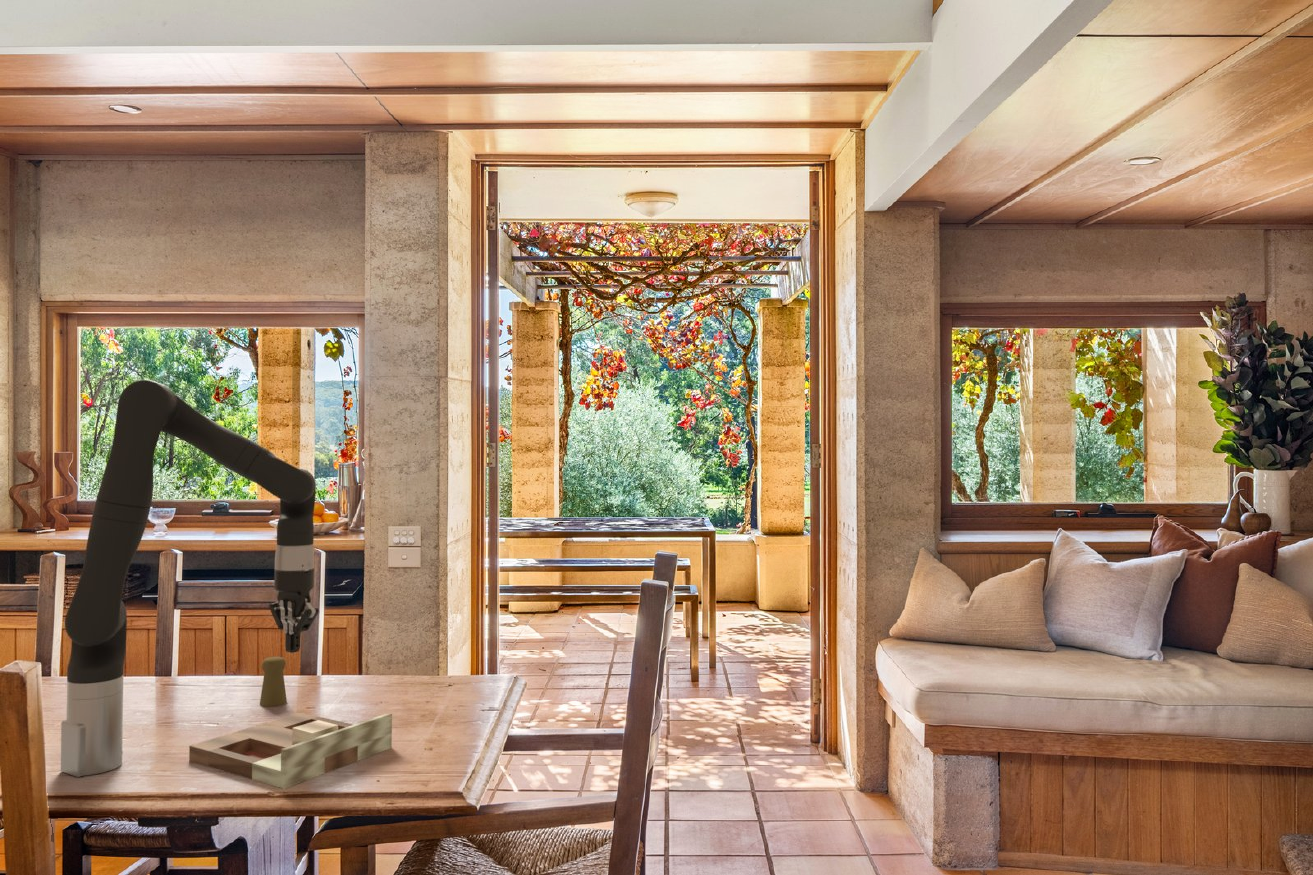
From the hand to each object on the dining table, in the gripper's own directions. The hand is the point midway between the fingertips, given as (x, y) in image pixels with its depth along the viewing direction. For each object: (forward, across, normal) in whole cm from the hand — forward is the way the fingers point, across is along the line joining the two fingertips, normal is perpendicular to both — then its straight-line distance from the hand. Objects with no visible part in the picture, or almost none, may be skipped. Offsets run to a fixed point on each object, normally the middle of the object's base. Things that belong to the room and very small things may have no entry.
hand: (292, 651), depth 185 cm
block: (+17, +10, -2) cm, 20 cm away
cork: (+20, -32, +20) cm, 43 cm away
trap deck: (+20, +2, -1) cm, 20 cm away
